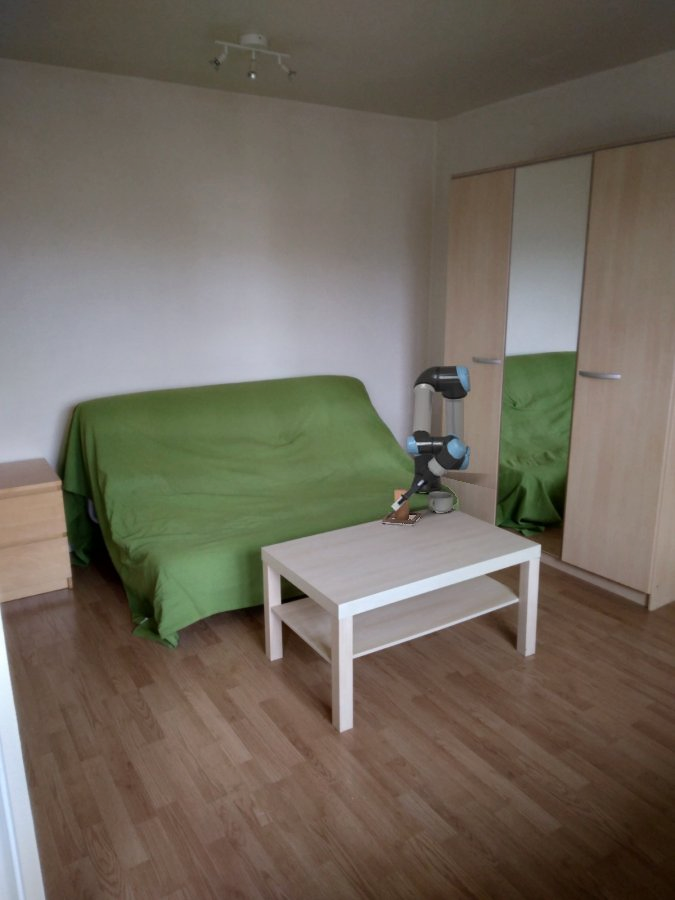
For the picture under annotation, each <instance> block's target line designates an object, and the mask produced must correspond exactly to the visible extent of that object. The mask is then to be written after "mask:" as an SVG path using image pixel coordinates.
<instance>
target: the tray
mask: <svg viewBox="0 0 675 900" xmlns="http://www.w3.org/2000/svg"><path fill="white" fill-rule="evenodd" d="M409 515H416V516H415V517H414V518H413V519H412V520H411V519H409V520H396V519H392V518H395V510H390V511H389V512H388V513H387V514H386V515H384V517H383V518H382V519H381V520H382V521H381V523H382V522H390V523H402V524H403V523H404V524H414V523H415V522H416V520H417V519H418V518H419V517H420V515H421V516H422V514H421V512H412V511H411V512H410V511H409Z"/></svg>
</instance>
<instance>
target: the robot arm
mask: <svg viewBox="0 0 675 900" xmlns="http://www.w3.org/2000/svg"><path fill="white" fill-rule="evenodd" d="M470 378H471V377H470V372H469V368H468V367H467V366H465V365H447V366H445V365H444V366H443V365H439V366H438V365H435V366H430V367H427V368H426V369H424V370H423V371H422V372H421V373H420V374H418V376H417V378H416V379H415V381H414V384H413V391H412V392H413V396H414V406H413V407H414V410H413V422H412V425H413V426H412V436H411V435H410V436H407V438H406V452H407V454H408V455H413V457H414V463H413V464H414V468H413V469H414V476H413V479H412V482H411V486H410V488H409V489H408V491H407V492H406V493H405V494H404V495H403V494H401V497H400V498H399V499H398V500H397V501H396V502H395V501H394V502H393V503H392V505H391V508H393V511H396V510H397V509H398V508H400V507H401V506H402V505H403V504H404V503H405V502H406V501H407V500H408V499H409V500H410V498H411V497H412V496H414V494H418V493H417V492H426V493H430V492H437V491H440V490H441V489H442V490H443V485H442V482H441V479H440V478H441V477H442V476H443V475H444V474H447V473H448V471H465V470H467V469H468V468H469V463H470V458H471V457H470V455H471V446H469V445H468V443H467V441H466V440H465V398H466V397H467V396H468V393H469V392H471V379H470ZM435 393H441V397H442V398H443V399H444V413H445V416H444V417H445V419H444V420H445V421H444V423H445V435H444V436H431V431H432V428H431V427H432V414H433V413H432V412H433V411H432V410H433V397H434V396H435Z"/></svg>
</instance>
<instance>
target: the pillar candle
mask: <svg viewBox="0 0 675 900" xmlns="http://www.w3.org/2000/svg"><path fill="white" fill-rule="evenodd" d="M408 490H409V489H407V488H396V489H394V492H393V493H394V498H393V499H394V503H395V502H396V501H397V500H398V499H399V498H400V497H401V494H403V495H404V494H405V493H406V492H407V491H408ZM394 511H395V510H394ZM409 512H410V498H409V499H408V500H407V501H406V502H405V503H404V504H403V505H402V506H401V507H400V508H398V509H397V510H396V511H395V519H396V520H408V519H409Z"/></svg>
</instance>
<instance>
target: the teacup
mask: <svg viewBox="0 0 675 900" xmlns="http://www.w3.org/2000/svg"><path fill="white" fill-rule="evenodd" d="M427 496H428V501H427V502H428V508H429V509H430V510H431V511H432V510H433V511H438V512H447V511H449V512H450V511H452V508H453V505H454V494H453V493H451V492H448V491H447V492H446V491H441V492H440V491H439V492H430V493H429V494H427ZM433 511H432V512H433ZM447 513H448V512H447Z"/></svg>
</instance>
